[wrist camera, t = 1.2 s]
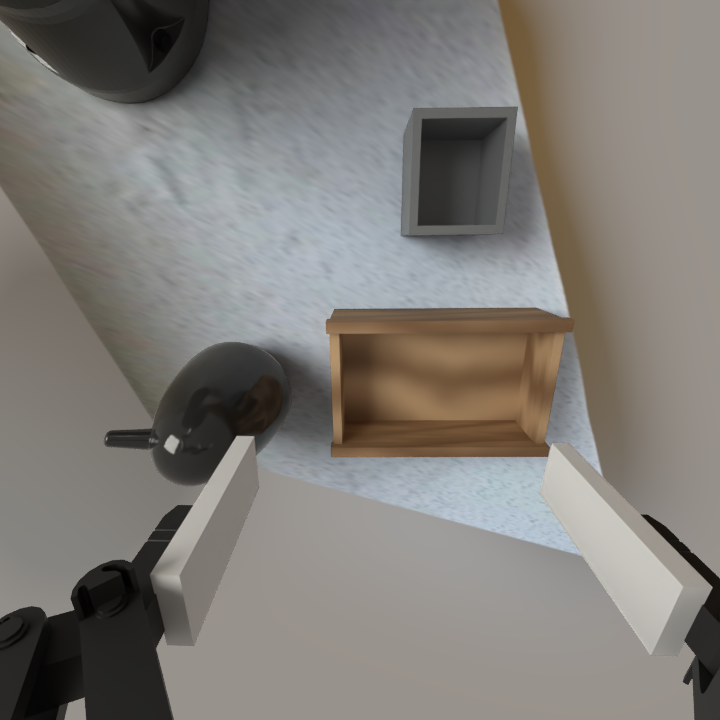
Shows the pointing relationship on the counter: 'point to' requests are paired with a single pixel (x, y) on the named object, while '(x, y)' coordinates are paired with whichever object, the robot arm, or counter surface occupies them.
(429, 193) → the box
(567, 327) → the large crate
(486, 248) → the counter surface
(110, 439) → the pump dispenser
